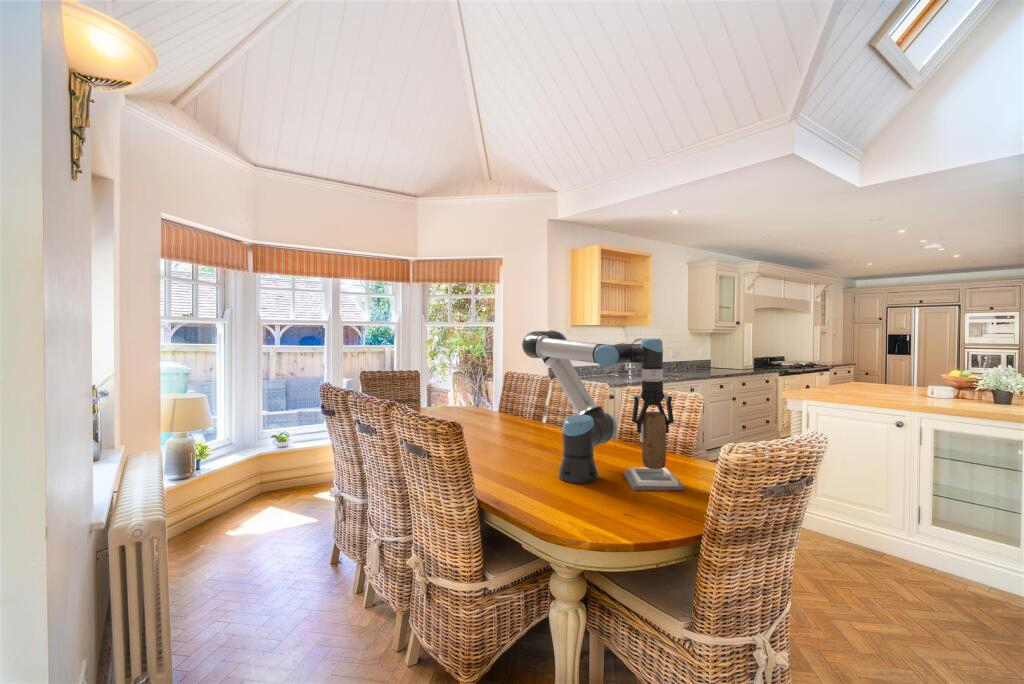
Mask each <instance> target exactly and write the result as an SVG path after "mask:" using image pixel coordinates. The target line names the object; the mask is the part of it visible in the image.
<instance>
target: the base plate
mask: <svg viewBox="0 0 1024 684" xmlns="http://www.w3.org/2000/svg"><path fill="white" fill-rule="evenodd" d="M624 475H625V476H624ZM623 476H624V478H625V477H626V478H625V480H626V481H627V483H628V482H629V483H628V485H629V484H630V485H629V487H630V486H631V487H630V488H631V491H636V490H684V491H686V490H685V486H684V484H682V482H681V481H680V480H679V479H678V478H677V477H676V476H675V475H674V474H673V472H672V471H671V470H669V469H667V468H666V467H664V468H662V469H650V468H647V467H640V466H639V467H638V466H637V467H635V466H634V467H628V470H623Z"/></svg>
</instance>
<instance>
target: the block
mask: <svg viewBox="0 0 1024 684" xmlns="http://www.w3.org/2000/svg"><path fill="white" fill-rule="evenodd" d="M641 424H643V434H644V443H641V454H642V463H643V466H645V467H644V468H650V469H662V468H666V462H667V433H666V427H665V416H664V415H663V414H661V413H660V412H659V411H654V410H653V411H646V413H645V416H644V418H643V421H642V423H641Z"/></svg>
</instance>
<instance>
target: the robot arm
mask: <svg viewBox="0 0 1024 684" xmlns="http://www.w3.org/2000/svg"><path fill="white" fill-rule="evenodd" d="M521 346H522V351H523V353H524V354H525V355H526V356H528V357H529V358H531V359H541V360H542V361H543V363H544V365H545V366H547V367H550V369H551V370H552V372H553V374H554V376H555V377H556V379H557V381H558V383H559V384H560V386H561V388H562V390H563V391H564V393H565V395H566V397H567V399H568V400H569V402H570V405H571V406H572V407H573V409H574V411H575V412H576V415H575V414H573V415H570V416H567V417H566V418H564V420H563V421H562V423H563V424H562V451H563V453H562V460H561V464H560V466H559V470H558V479H560V480H561V481H564V482H566V483H571V484H589V483H590V484H591V483H593V482H596V481H597V480H599V470H598V467H597V464H596V461H595V458H594V448H595V447H596V446H599V445H602V444H606V443H608V442H609V441H611V440H612V439H614V437H615V436H616V433H617V430H618V429H617V422H616V420H615V418H614V417H613V416H612V414H610V413H607V412H605V411H604V409H603V408H602V406H601V405H599V404H596V403H595V401H594V400H593V398H592V396H591V394H590V392H589V391H588V389H587V388H586V386H585V384H584V383H583V381H582V379H581V377H580V375H579V373H578V372H577V370H576V369H575V366H573V364H572V362H571V361H575V362H576V361H577V362H585V363H591V364H592V363H593V364H598V365H600V366H601V367H602V366H603V367H612V366H616V365H626V364H640V365H641V379H642V381H641V392H640V393H641V394H640V395H633V397H632V399H633V400H634V401H633V408H632V416H631V421H632V423H633V424H635V425H636V431H637V434H639V441H640V443H641V444H642V443H644V434H643V424H641V423H642V421H643V418H644V416H645V413H646V412H648V411H647V410H648V408H649V407H650V406H651V407H652V406H656V407H657V409H658V412H660V413H661V414H663V415H664V416H665V427H666V434H668V433H669V431H670V429H669V425H670V424H673V423H675V421H674V414H673V407H672V400H673V396H672V395H670V394H669V395H666V394H664V382H663V379H664V360H663V359H664V346H663V340H662V339H661V338H643V339H642V340H641V342H640V343H624V342H622V343H615V344H607V343H606V344H605V343H599V342H598V343H596V342H585V341H578V340H577V341H575V340H568V338H566V335H564V334H563V333H562V332H560V331H557V330H546V331H545V330H544V331H543V330H540V331H538V330H535V331H530V332H529V333H527V334H526V335H525V336H524V337H523V339H522V343H521ZM641 400H642V401H643V404H642V407H641V410H640V412H639V406H640V405H639V404H640V403H639V402H640V401H641ZM663 400H664V401H665V403H666V404H665V405H666V412H667V415H666V412H665V410H664V408H663V405H662V401H663ZM638 413H639V414H638ZM638 415H639V416H638Z"/></svg>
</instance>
